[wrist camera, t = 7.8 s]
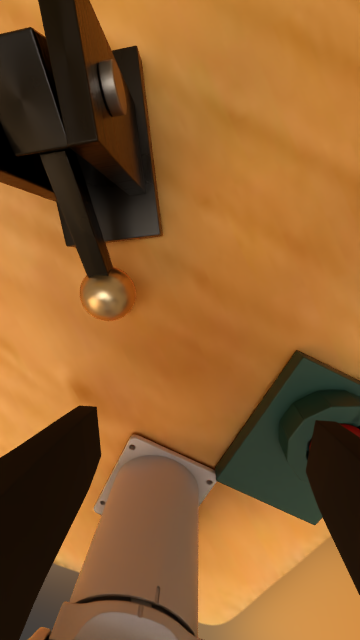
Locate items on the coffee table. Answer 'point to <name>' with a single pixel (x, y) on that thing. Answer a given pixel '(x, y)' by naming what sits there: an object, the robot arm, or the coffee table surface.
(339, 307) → the coffee table surface
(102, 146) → the bracket
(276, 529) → the coffee table surface
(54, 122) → the lever
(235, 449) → the button housing
